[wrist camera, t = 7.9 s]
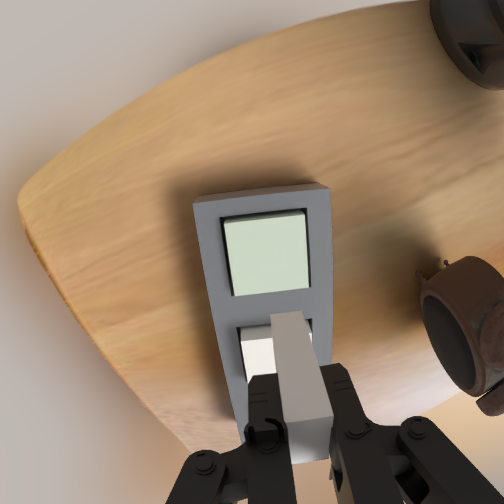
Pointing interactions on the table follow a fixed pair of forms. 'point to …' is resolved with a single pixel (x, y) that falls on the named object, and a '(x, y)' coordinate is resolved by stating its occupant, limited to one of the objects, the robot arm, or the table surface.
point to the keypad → (263, 304)
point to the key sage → (267, 251)
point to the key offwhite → (259, 349)
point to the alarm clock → (468, 327)
